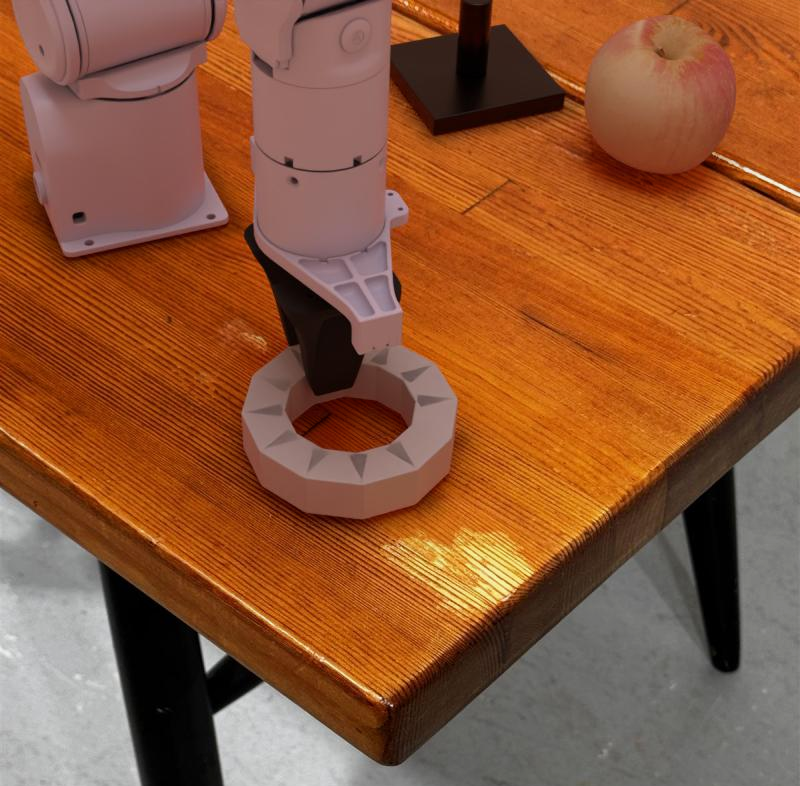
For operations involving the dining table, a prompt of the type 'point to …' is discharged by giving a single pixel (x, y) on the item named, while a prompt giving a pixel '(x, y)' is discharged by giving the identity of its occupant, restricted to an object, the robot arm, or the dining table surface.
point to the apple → (660, 95)
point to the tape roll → (348, 471)
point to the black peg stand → (472, 75)
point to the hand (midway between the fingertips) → (322, 369)
